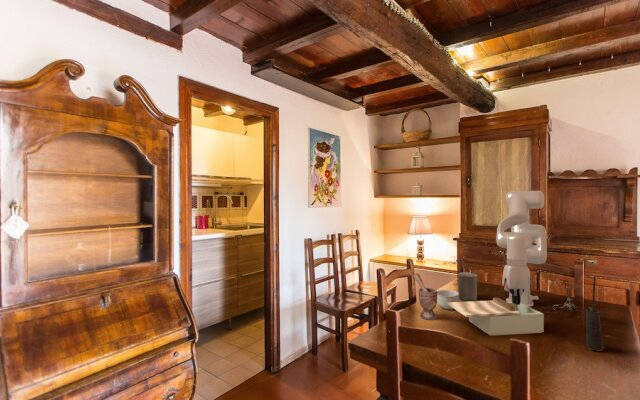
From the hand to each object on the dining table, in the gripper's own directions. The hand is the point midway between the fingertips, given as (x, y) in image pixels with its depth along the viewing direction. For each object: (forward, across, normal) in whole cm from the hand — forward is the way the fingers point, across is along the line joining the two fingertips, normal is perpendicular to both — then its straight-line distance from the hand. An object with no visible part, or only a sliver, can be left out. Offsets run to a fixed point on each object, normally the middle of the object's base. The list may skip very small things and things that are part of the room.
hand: (516, 303), depth 149 cm
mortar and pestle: (+10, +36, -15) cm, 40 cm away
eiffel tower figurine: (+11, -42, -17) cm, 46 cm away
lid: (+1, +16, 0) cm, 16 cm away
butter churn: (+10, -15, +23) cm, 29 cm away
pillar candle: (+10, +1, -39) cm, 40 cm away
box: (+10, +6, 0) cm, 11 cm away
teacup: (+10, +19, -28) cm, 35 cm away
